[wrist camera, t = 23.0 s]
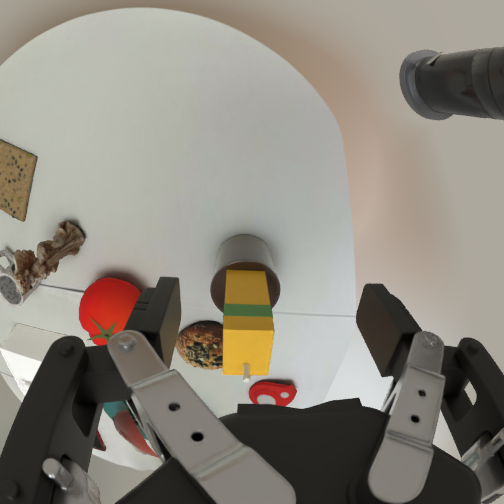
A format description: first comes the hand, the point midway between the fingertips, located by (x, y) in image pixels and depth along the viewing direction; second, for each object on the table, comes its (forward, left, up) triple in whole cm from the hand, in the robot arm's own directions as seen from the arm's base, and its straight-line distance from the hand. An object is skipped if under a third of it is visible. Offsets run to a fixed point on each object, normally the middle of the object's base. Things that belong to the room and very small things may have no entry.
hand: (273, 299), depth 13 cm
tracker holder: (-18, +42, -30) cm, 55 cm away
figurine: (+25, +18, -30) cm, 43 cm away
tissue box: (+30, +54, -30) cm, 68 cm away
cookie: (+40, +11, -30) cm, 51 cm away
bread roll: (-2, +31, -30) cm, 43 cm away
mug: (+36, +27, -30) cm, 54 cm away
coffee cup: (-3, +13, -30) cm, 33 cm away
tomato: (+14, +26, -30) cm, 42 cm away
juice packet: (-3, +13, -21) cm, 25 cm away
